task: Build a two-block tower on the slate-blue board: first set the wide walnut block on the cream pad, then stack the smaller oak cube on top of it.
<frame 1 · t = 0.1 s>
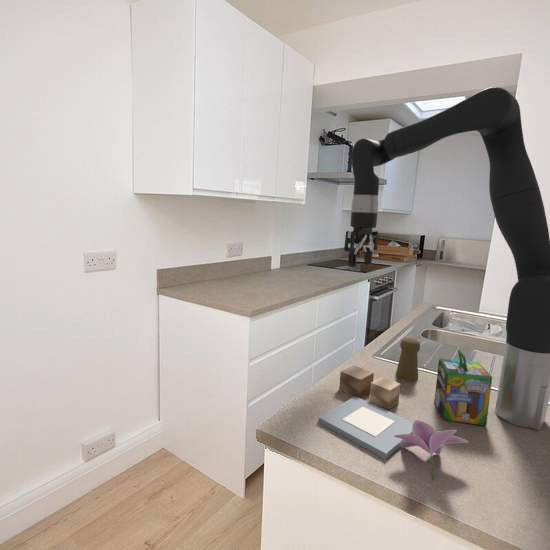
hand: (360, 265, 111), 29 cm above the counter, tool pointing down, fingers open, 8 cm apart
oak cube: (383, 402, 89), on the counter
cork: (406, 377, 103), on the counter
board: (368, 426, 78), on the counter
lily: (426, 464, 67), on the counter
walnut block: (355, 390, 94), on the counter
chalk box: (458, 413, 85), on the counter
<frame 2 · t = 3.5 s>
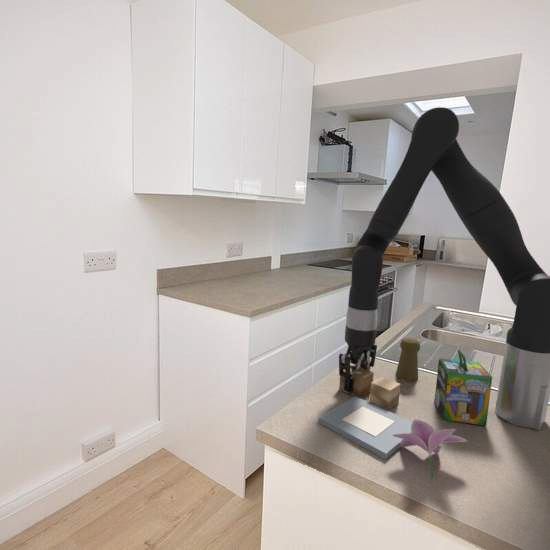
hand: (355, 387, 94), 1 cm above the counter, tool pointing down, fingers closed on walnut block, 6 cm apart
walnut block: (355, 389, 94), on the counter, touching gripper
everything else where it was.
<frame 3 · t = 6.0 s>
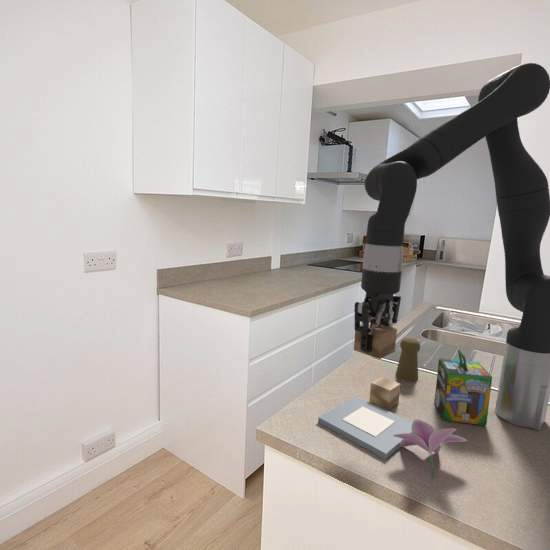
hand: (374, 347, 76), 18 cm above the counter, tool pointing down, fingers closed on walnut block, 6 cm apart
walnut block: (374, 350, 76), point 17 cm above the counter, touching gripper
everything else where it was.
when the fingers open (3 cm above the counter, at t = 8.8 s): walnut block stays where it is, resting on board.
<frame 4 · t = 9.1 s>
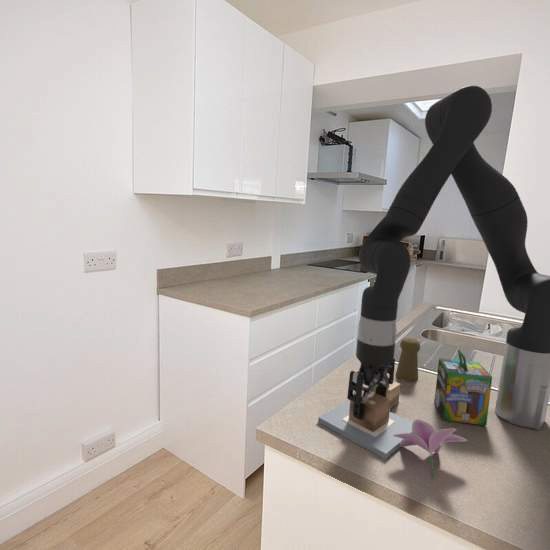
hand: (369, 410, 78), 4 cm above the counter, tool pointing down, fingers open, 8 cm apart
walnut block: (368, 420, 78), point 1 cm above the counter, touching board
everything else where it was.
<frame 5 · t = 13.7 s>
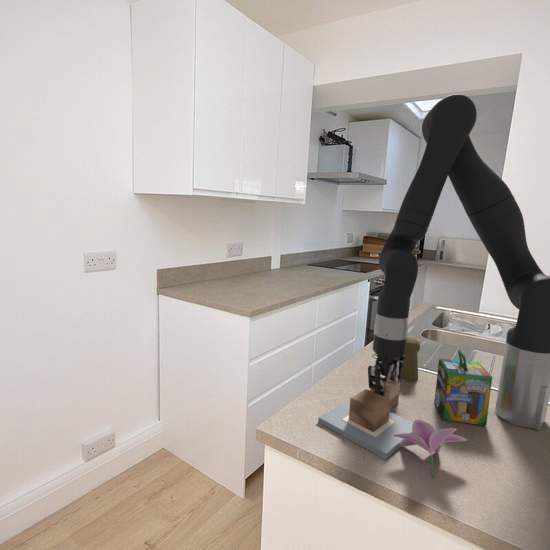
hand: (383, 400, 89), 0 cm above the counter, tool pointing down, fingers closed on oak cube, 5 cm apart
oak cube: (383, 402, 89), on the counter, touching gripper
everything else where it was.
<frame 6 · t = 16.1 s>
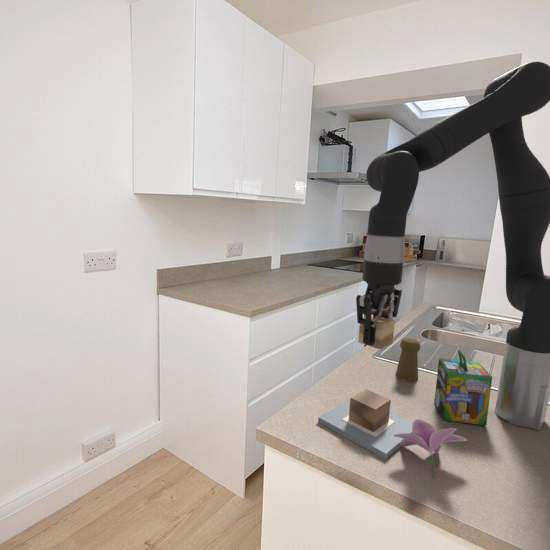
hand: (375, 340, 75), 19 cm above the counter, tool pointing down, fingers closed on oak cube, 5 cm apart
oak cube: (375, 343, 75), point 19 cm above the counter, touching gripper
everything else where it was.
when the fingers open (8 cm above the counter, at t = 18.6 s): oak cube stays where it is, resting on walnut block.
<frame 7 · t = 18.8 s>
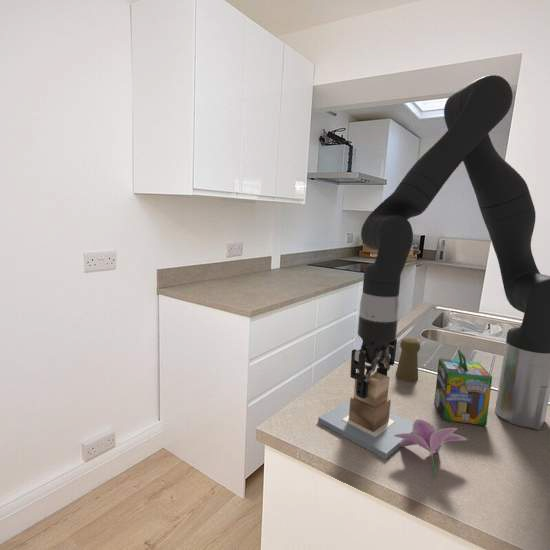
hand: (371, 391, 77), 8 cm above the counter, tool pointing down, fingers open, 7 cm apart
oak cube: (370, 398, 77), point 6 cm above the counter, touching walnut block
walnut block: (368, 420, 78), point 1 cm above the counter, touching board, oak cube
everything else where it was.
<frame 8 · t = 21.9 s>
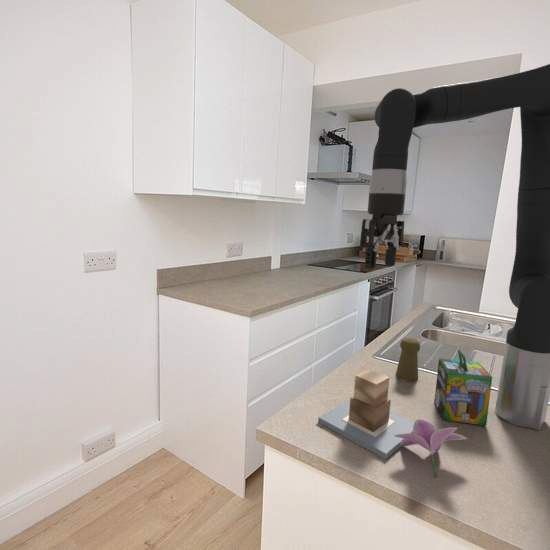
hand: (380, 267, 82), 33 cm above the counter, tool pointing down, fingers open, 8 cm apart
nothing on the counter moved.
at the end: walnut block inside the target area (0.0 cm from its centre), point 1.3 cm above the counter; oak cube 0.0 cm off-centre on the walnut block, point 5.0 cm above the walnut block's base; oak cube tilted 0° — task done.
